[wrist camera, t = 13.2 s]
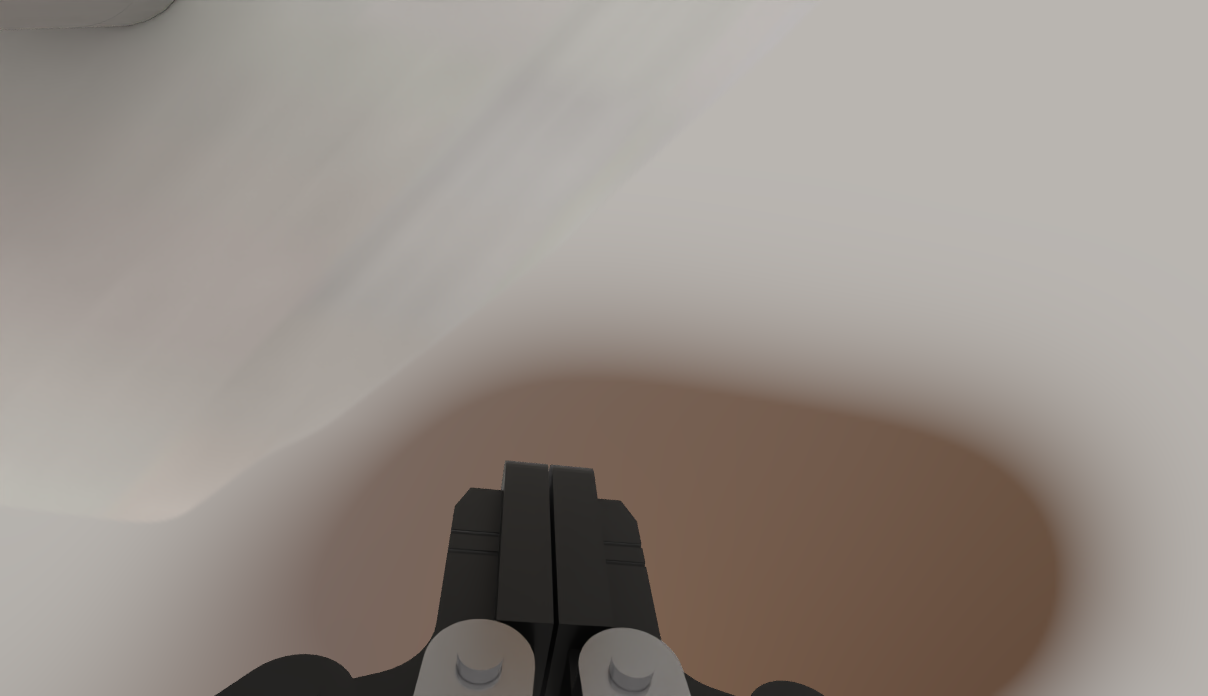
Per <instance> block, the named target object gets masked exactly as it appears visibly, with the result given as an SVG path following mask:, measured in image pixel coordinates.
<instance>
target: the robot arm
mask: <svg viewBox="0 0 1208 696" xmlns="http://www.w3.org/2000/svg"><path fill="white" fill-rule="evenodd" d="M173 1H174V0H0V30H16V29H47V28H86V27H109V26H129V25H133V24H137V23H140V22H144V21H147V20H149V19H151V18H153V17H154V16H156V15H158V14H160V13H161V12H163V11H164V10H165V9H166V8H167V7H168V6H169V5H170V4H171V3H172V2H173ZM215 696H734V695H731V694H728V693H725V692H722V691H720V690H716V689H714V688H711V687H709V686H706V685H704V684H702V683H700V682H698V681H696V680H694V679H693V678H691V677H690V676H688V675H687V674H686V673H684V672H683V669H682V667H681V664H680V662H679V660H678V658H677V657H676V655H675V654H674V653H673V652H672V650H671V649H670V648H669V647H668V646H667V645H666V644H665V643H663V642H662V641H661V637H660V633H659V628H658V623H657V618H656V613H655V608H654V604H653V599H652V594H651V589H650V584H649V579H648V574H647V570H646V567H645V559H644V555H643V550H642V548H641V540H640V535H639V530H638V525H637V521H636V520H635V519H634V517H633V516H632V515H631V513H630V512H629V511H628V509H627V508H626V507H625V506H624V504H623V503H622V502H621V501H618V500H606V499H597V492H596V484H595V477H594V471H593V469H590V468H581V467H570V466H560V465H550V468H549V472H548V465H546V464H537V463H536V464H535V463H526V462H515V461H505V466H504V473H503V479H502V487H501V490H491V489H480V488H470V489H469V490H468V491H467V493H466V494H465V495H464V496H463V497H462V499H461V500H460V501H459V502H458V503H457V504H456V506H455V509H454V515H453V522H452V528H451V534H450V541H449V547H448V553H447V560H446V566H445V573H444V579H443V586H442V592H441V598H440V605H439V610H438V617H437V623H436V627H435V632H434V633H433V636H432V637H431V639H430V641H429V642H428V644H427V645H426V646H425V647H424V648H423V650H422V651H421V652H420V653H419V654H417V655H416V656H415V657H413V658H412V659H411V660H409V661H407V662H406V663H404V664H402V665H400V666H398V667H395V668H393V669H390V670H387V671H383V672H380V673H375V674H371V675H367V676H362V677H358V678H352V677H351V675H350V674H349V672H348V671H347V670H346V669H345V668H344V667H343V666H342V665H340V664H338V663H337V662H335V661H333V660H331V659H329V658H326V657H322V656H318V655H310V654H299V655H291V656H285V657H281V658H278V659H275V660H272V661H270V662H267V663H265V664H263V665H261V666H260V667H258V668H256V669H254V670H253V671H251V672H250V673H249V674H247V675H245V676H244V677H242V678H241V679H239V680H238V681H236V682H235V683H233V684H232V685H230V686H229V687H227V688H226V689H224V690H223V691H221V692H220V693H218V694H217V695H215ZM751 696H824V695H822V694H821V693H819V692H817V691H816V690H814V689H812V688H809V687H807V686H805V685H802V684H799V683H795V682H790V681H773V682H768V683H766V684H763V685H761V686H760V687H758V688H757V689H756V690H755V691H754V692H753V693H752V695H751Z"/></svg>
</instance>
